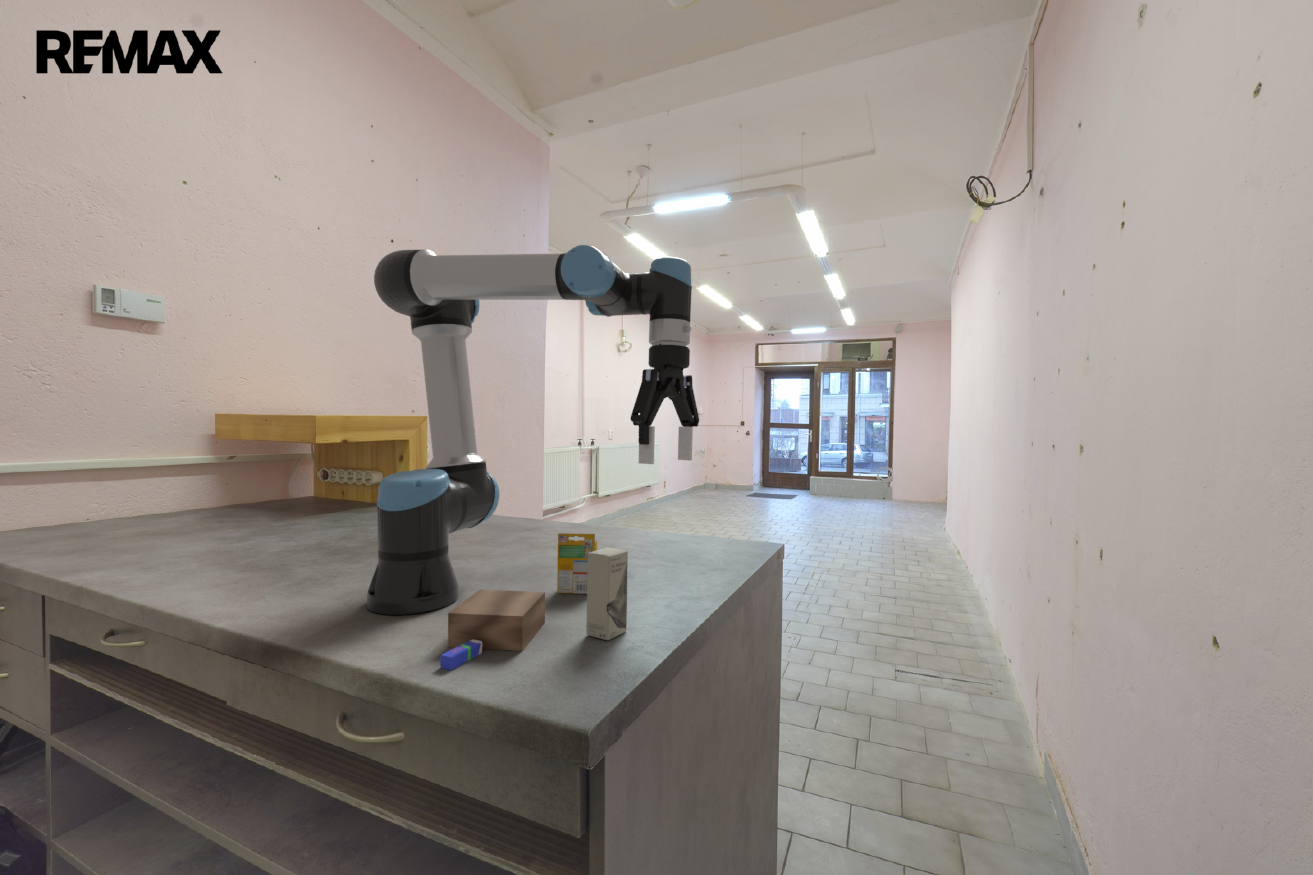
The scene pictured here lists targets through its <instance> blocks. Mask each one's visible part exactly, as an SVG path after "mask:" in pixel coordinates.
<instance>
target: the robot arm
mask: <svg viewBox="0 0 1313 875" xmlns="http://www.w3.org/2000/svg"><path fill="white" fill-rule="evenodd" d="M691 266H692V265H691V264H690V263H689V262H688V261H687V260H685V259H684V258H681V257H675V256H674V257H673V256H665V257H664V256H663V257H660V258H655V259H654V260H653V261H652V262H651V264H650V268H649V271H647V272H646V271H645V272H637V273H635V272H634V273H632V272H631V273H629V272H628V273H626V272H624V271H623V270H622V269H621V268H620V267H619V266H618V265H617V264H616V263H615V262H614V261H612V259H611V258H610V256H608V255H607V254H606V253H605V252H604V251H601V250H599V249H598V248H596V247H595V246H593V245H589V244H579V245H576V246H575V247H572V248H571V249H569V250H567V251H566V253H565V252H564V253H517V254H516V253H514V254H513V253H512V254H511V253H509V254H508V253H507V254H506V253H503V254H500V253H499V254H455V255H454V254H452V255H451V254H450V255H449V254H446V255H445V254H442V255H440V254H439V255H437V254H436V253H435V252H434V251H433V250H430V249H426V248H425V249H402V250H399V249H398V250H395V251H392V252H390V253H388V254H386V255H384V256H383V257H382V258H381V259H380V261H379V262H378V264H377V265H376V268H375V270H374V275H373V283H374V287H375V288H374V289H375V291H376V293H377V295H378V297H379V298H380V300H381V301H382V302H383V303H384V304H385V306H387V307H388V308H390V309H391V310H392V311H394V312H396V313H399V314H401V315H403V316H404V315H405V316H408V317H410V327H411V328H410V329H411V333H412V334H411V335H413V336H414V337H415V338H416V339H418V340H419V341H420V344H421V353H422V354H421V355H422V364H423V373H424V374H423V375H424V382H425V383H424V384H425V394H426V403H427V413H428V423H429V433H430V439H431V440H430V441H431V442H430V443H431V450H432V459H431V460H430V461H429V462H428V463H427V465H425V468H420V469H419V468H418V469H413V470H404V471H398V472H395V473H392V474H389V475H387V476H385V477H384V478H382V479H381V480H380V482H379V484H378V490H377V491H378V492H377V493H378V494H377V499H376V505H377V564H376V567H375V569H374V573H373V575H372V578H371V581H370V584H369V587H368V589H367V592H366V608H367V610H368V611H370V612H372V613H376V614H381V615H392V616H396V615H397V616H398V615H399V616H400V615H401V616H402V615H403V616H404V615H412V614H414V615H415V614H420V613H426V612H430V611H434V610H438V609H441V608H444V607H447V606H449V605H452V604H453V603H454V602H456V601H457V600H458V599H459V582H458V579H457V577H456V574H455V571H454V568H453V565H452V562H451V559H450V556H449V543H450V542H449V539H450V538H449V537H450V536H449V535H450V534H452V533H455V532H458V531H461V530H465V529H471V528H474V527H476V526H479V525H480V524H482V523H483V522H485V521H488V519H489V518H491V517H492V516H493V514H494V512H495V511H496V510H497V508H498V506H499V501H500V489H499V484H498V482H497V480H496V479H495V478H494V477H493V476H492V474H491V473H489V472H488V471H487V461H486V459H484V458H483V457H482V455H480V454H479V453H478V448H477V447H478V446H477V438H476V430H475V429H476V428H475V420H474V419H475V418H474V410H473V401H472V391H471V381H470V379H471V378H470V372H469V371H470V370H469V362H468V361H469V360H468V353H467V351H468V350H467V341H466V340H467V338H469V336H470V335H471V334H472V333H473V326H472V324H473V323H474V322H475V320H476V317H477V316H478V314H479V311H480V301H481V300H482V301H483V300H484V301H486V300H487V301H489V300H491V301H493V300H494V301H497V300H501V301H502V300H508V301H509V300H512V301H513V300H518V301H519V300H520V301H521V300H526V301H527V300H529V301H531V300H533V301H534V300H535V301H536V300H538V301H540V300H541V301H542V300H546V301H547V300H551V301H552V300H554V301H556V300H557V301H560V300H563V301H584V302H585V305H586V307H587V308H588V311H589V313H590V314H591V315H593V316H603V317H606V318H608V317H613V316H614V317H615V316H617V317H618V316H633V315H634V316H637V315H649V326H648V328H649V330H648V343H649V345H651V346H650V347H649V348H648V366H649V367H650V368H648V369H647V368H646V369H643V370H642V373H641V374H642V376H641V383H640V386H639V390H638V393H637V396H636V398H635V402H634V406H633V408H632V412H631V413H630V414H631V415H630V421H631V422H632V424H633V426H635V427H636V426H638V439H637V440H638V441H637V442H638V464H643V465H654V464H655V434H656V432H655V429H656V427H655V426H653V425H652V424H653V423H654V420H655V418H656V417H657V415H658V412H659V411H660V408H661V406H662V404H663V403H664V402H663V401H664V400H665V399H666V398H668V399H669V400H670V401H672V405H673V407H674V409H675V412H676V415H677V417H678V420H679V422H680V425H681V426H678V439H677V440H678V445H677V446H678V447H677V460H678V461H692V460H693V431H694V430H693V429H694V428H695V427H698V426H699V423H700V417H699V412H698V406H697V402H696V397H695V393H694V388H693V376H692V375H684V369H687V368H689V367H690V363H691V362H690V360H691V359H690V358H691V357H690V356H691V353H690V352H691V349H690V348H689V347H688V346H689V344H690V342H691V338H690V337H691V331H692V327H691V311H692V308H691V307H692V290H693V285H692V269H691V268H692V267H691Z"/></svg>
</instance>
